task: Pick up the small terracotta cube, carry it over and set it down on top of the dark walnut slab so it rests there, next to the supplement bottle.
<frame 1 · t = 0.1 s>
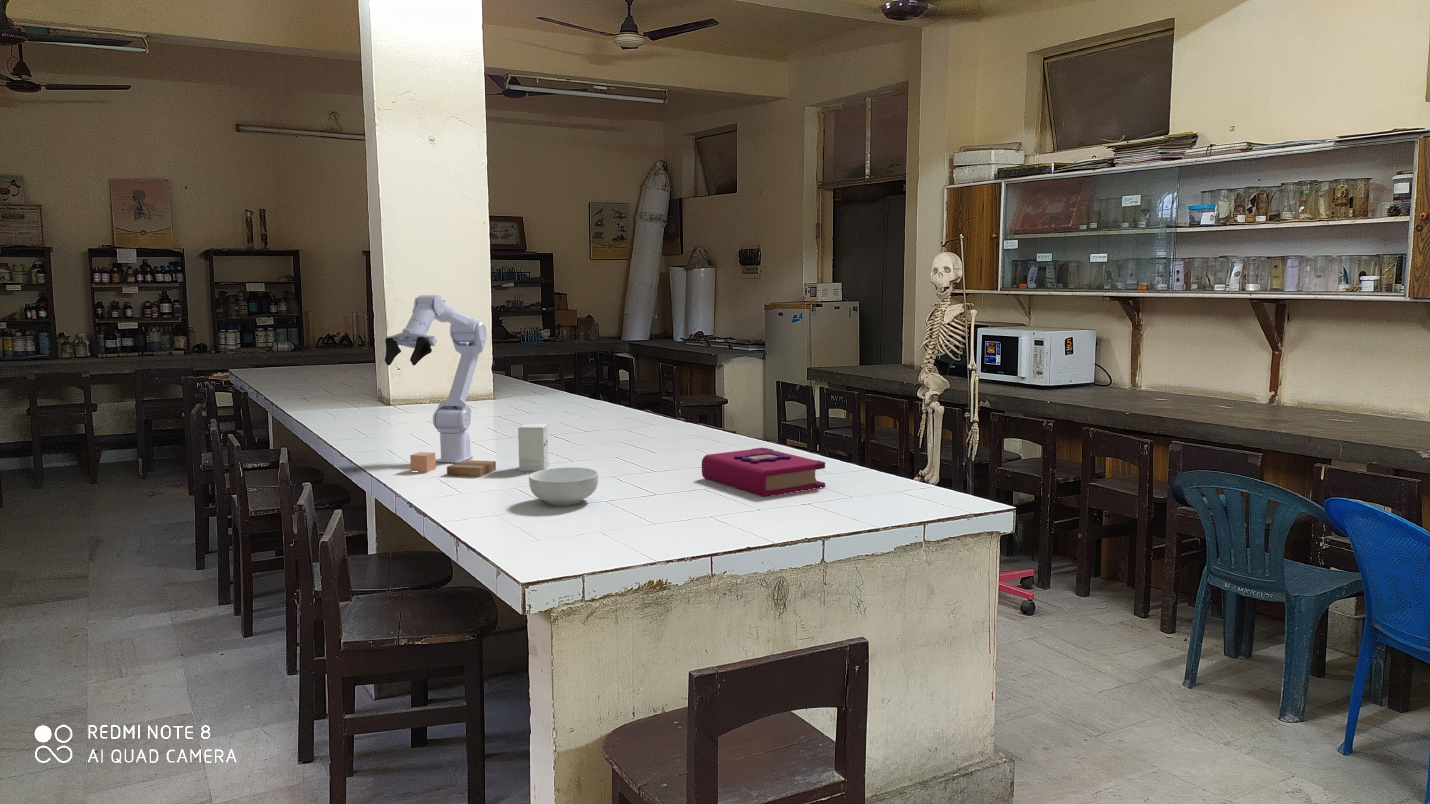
hand: (399, 362, 264), 32 cm above the table, tool tilted 50°, fingers open, 7 cm apart
terracotta cube: (423, 471, 279), on the table
cereal bowl: (564, 502, 240), on the table
supplement box: (534, 469, 282), on the table
book: (763, 485, 260), on the table
walnut slab: (471, 474, 276), on the table
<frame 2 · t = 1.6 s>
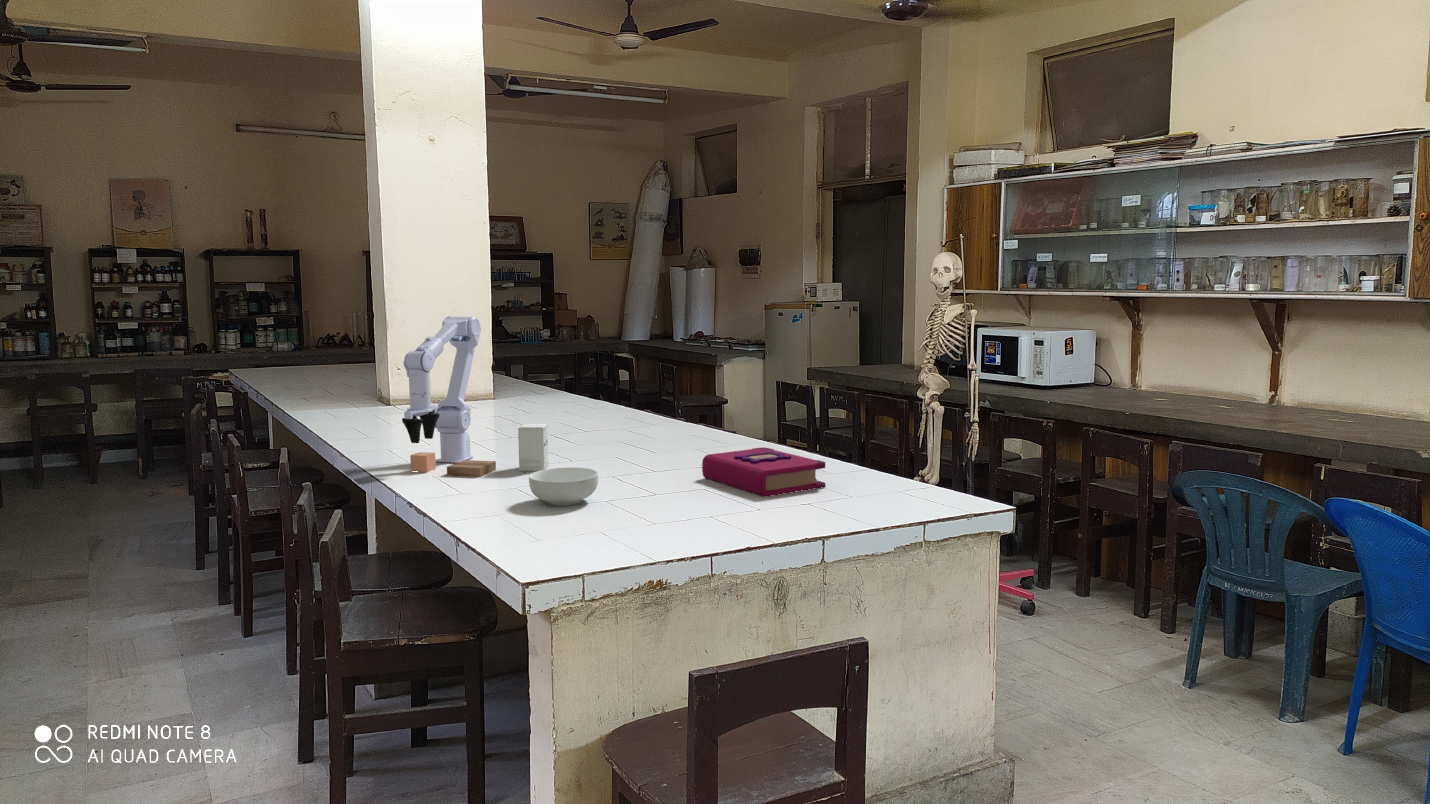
hand: (422, 440, 278), 9 cm above the table, tool pointing down, fingers open, 7 cm apart
nothing on the table moved.
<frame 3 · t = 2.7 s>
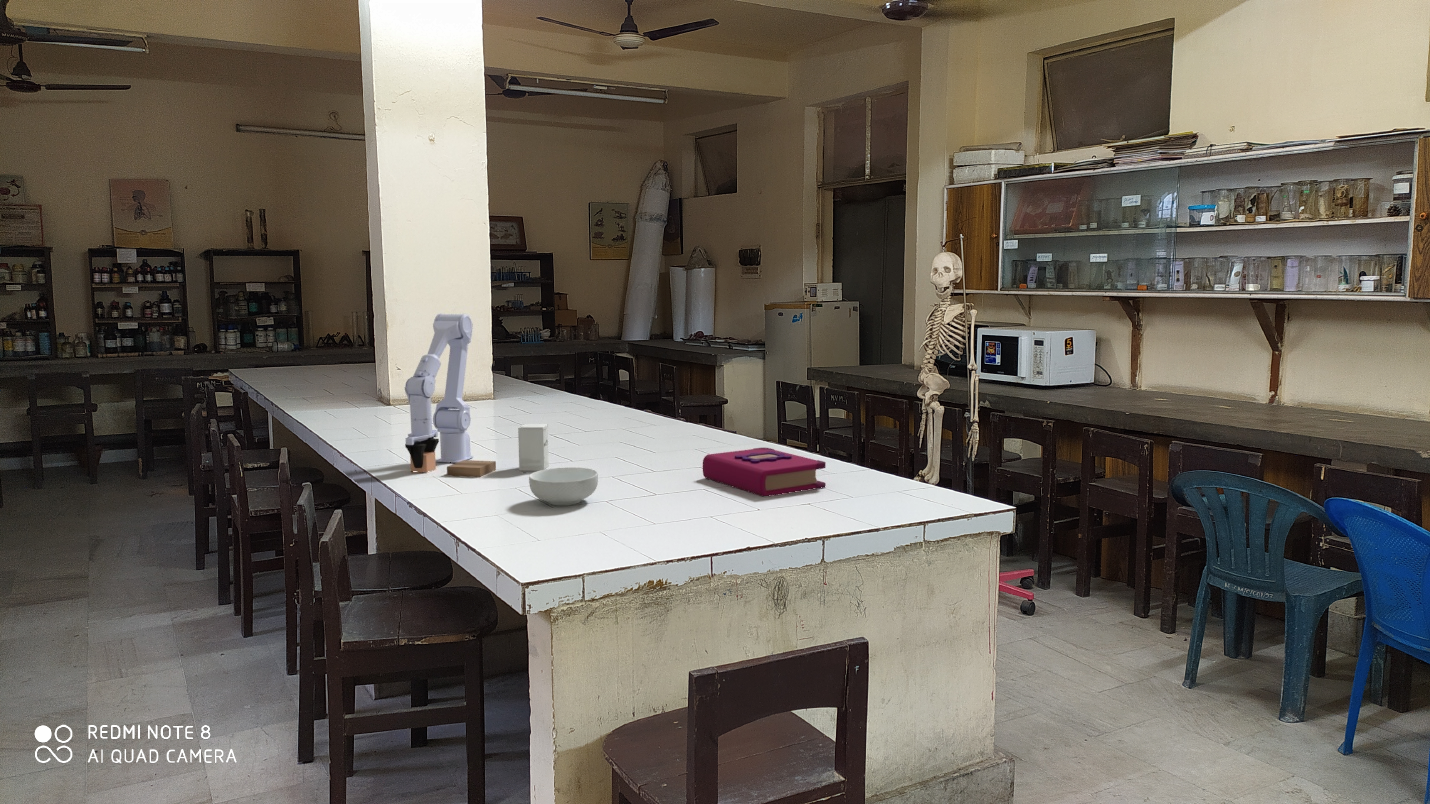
hand: (423, 465, 279), 1 cm above the table, tool pointing down, fingers closed on terracotta cube, 5 cm apart
terracotta cube: (423, 470, 279), on the table, touching gripper
everything else where it was.
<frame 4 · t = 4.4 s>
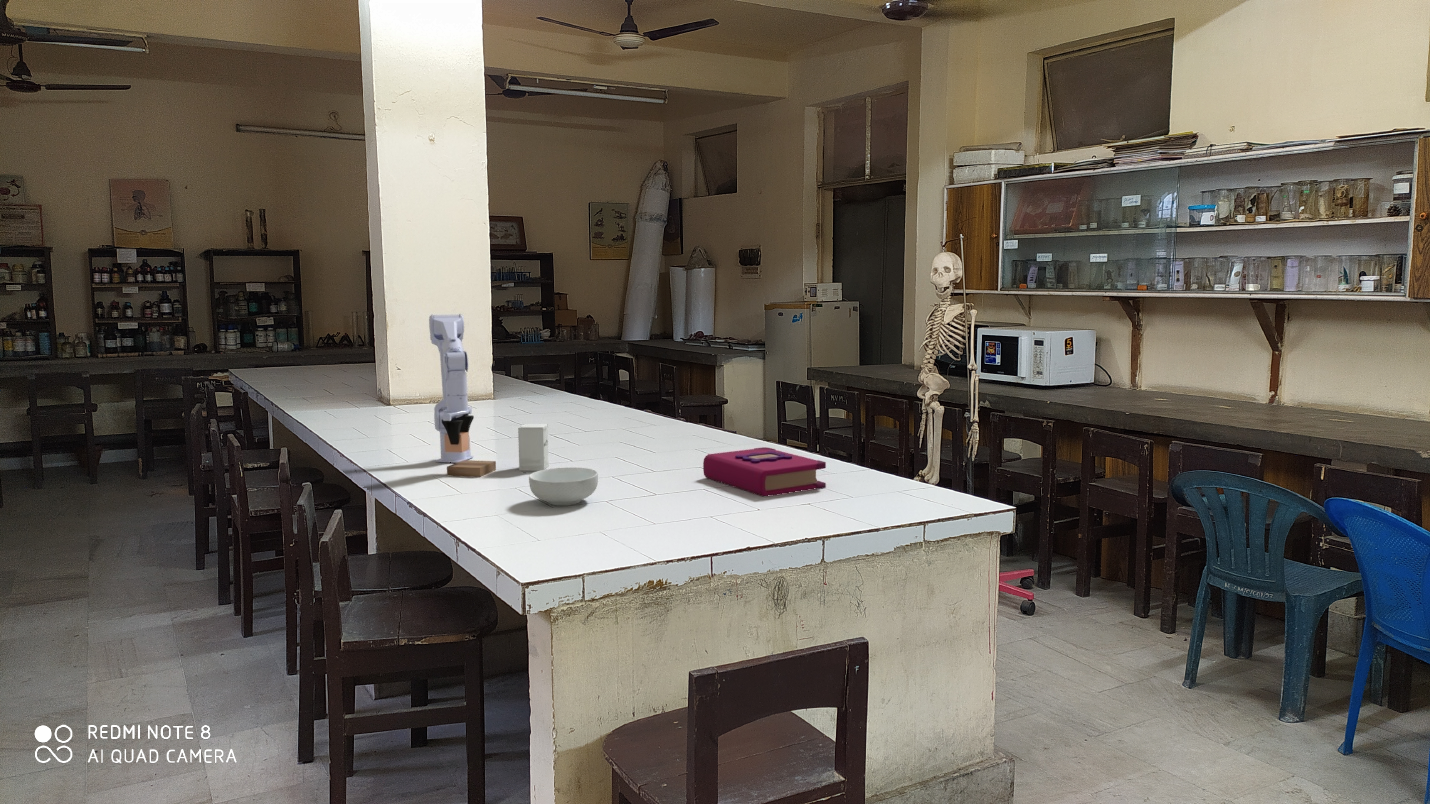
hand: (458, 442, 276), 8 cm above the table, tool pointing down, fingers closed on terracotta cube, 5 cm apart
terracotta cube: (457, 450, 276), point 6 cm above the table, touching gripper
everything else where it was.
when the fingers open (5 cm above the table, at t = 5.7 s): terracotta cube stays where it is, resting on walnut slab.
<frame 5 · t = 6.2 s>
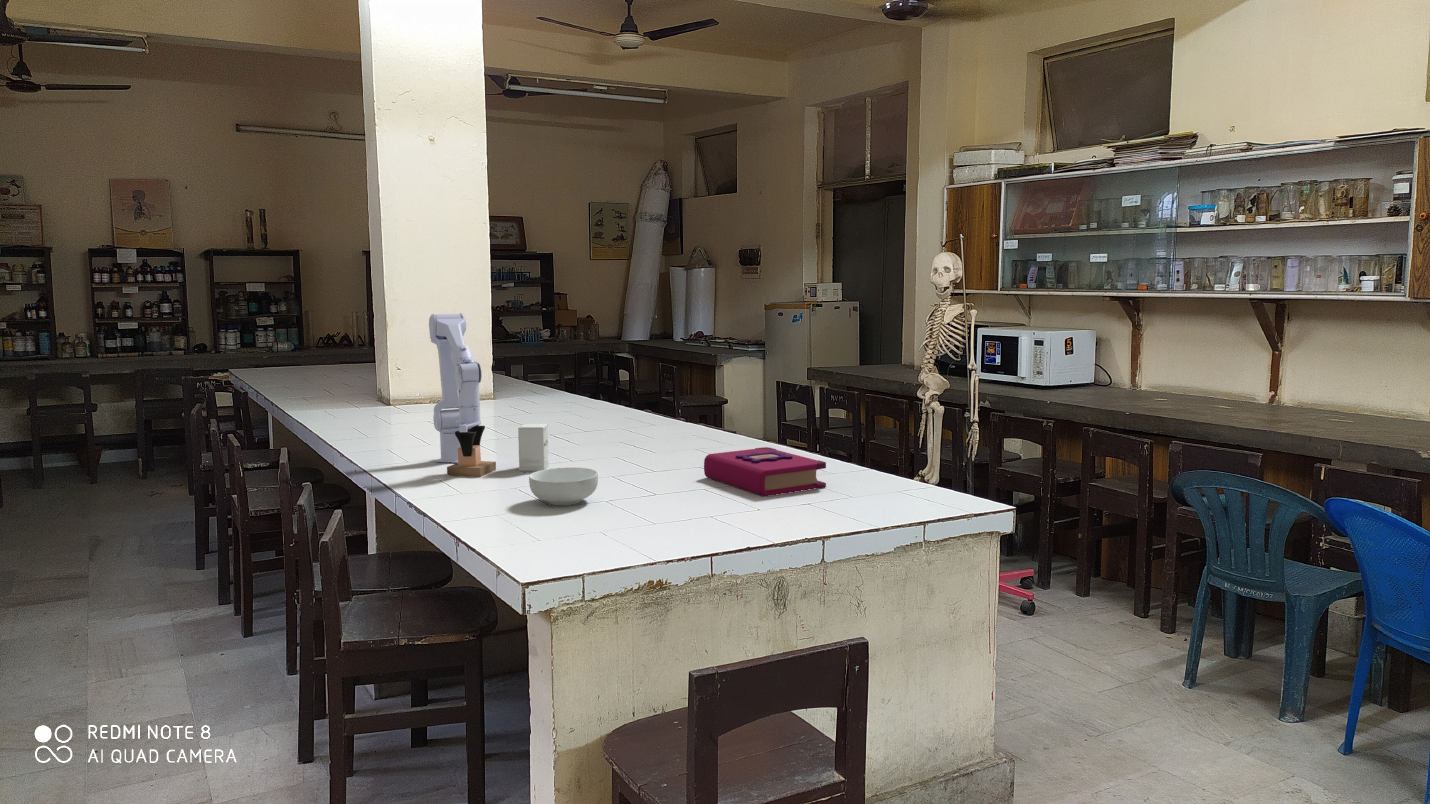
hand: (471, 453, 276), 5 cm above the table, tool pointing down, fingers open, 7 cm apart
terracotta cube: (469, 464, 276), point 2 cm above the table, touching walnut slab
walnut slab: (472, 474, 276), on the table, touching terracotta cube
everything else where it was.
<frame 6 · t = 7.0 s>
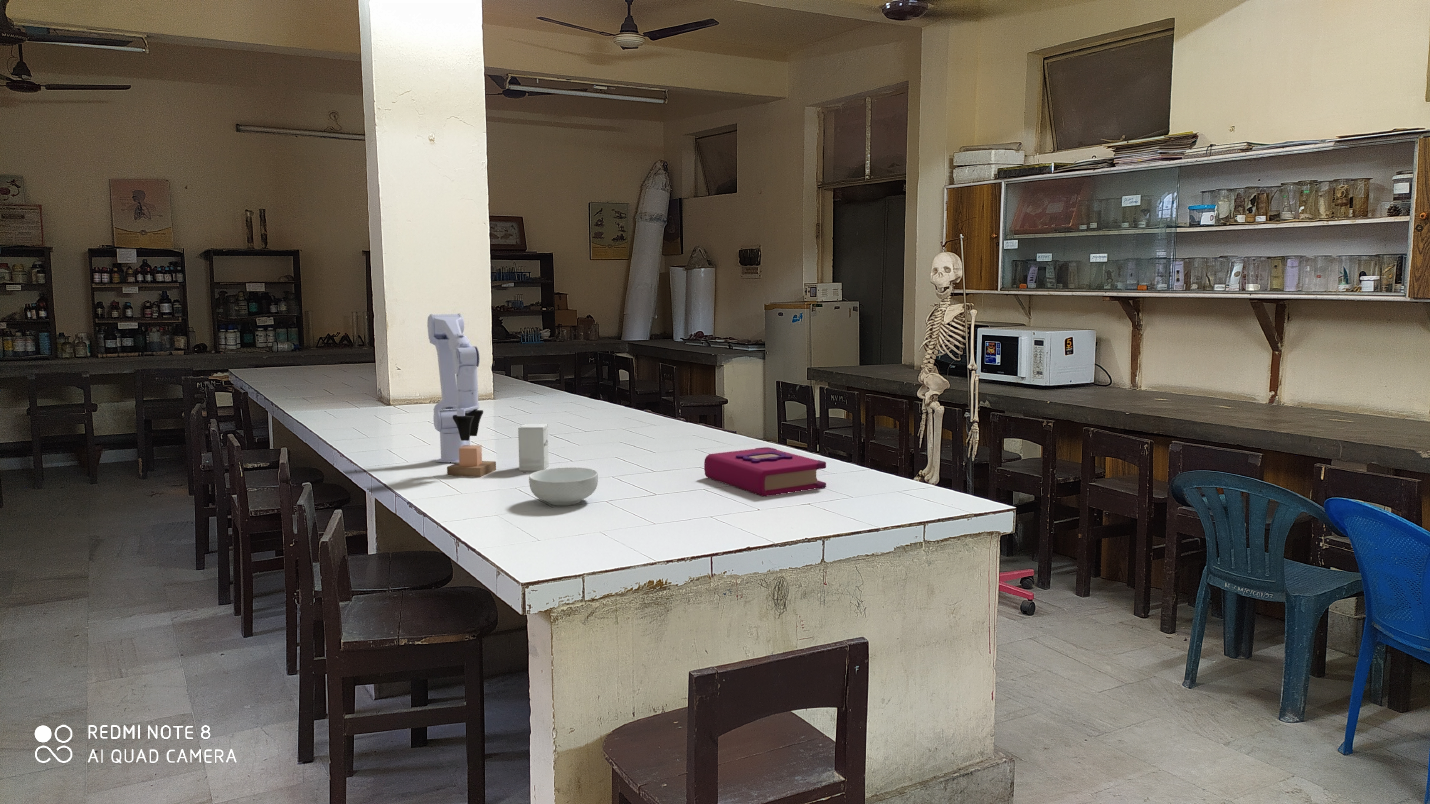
hand: (469, 438, 275), 10 cm above the table, tool pointing down, fingers open, 7 cm apart
nothing on the table moved.
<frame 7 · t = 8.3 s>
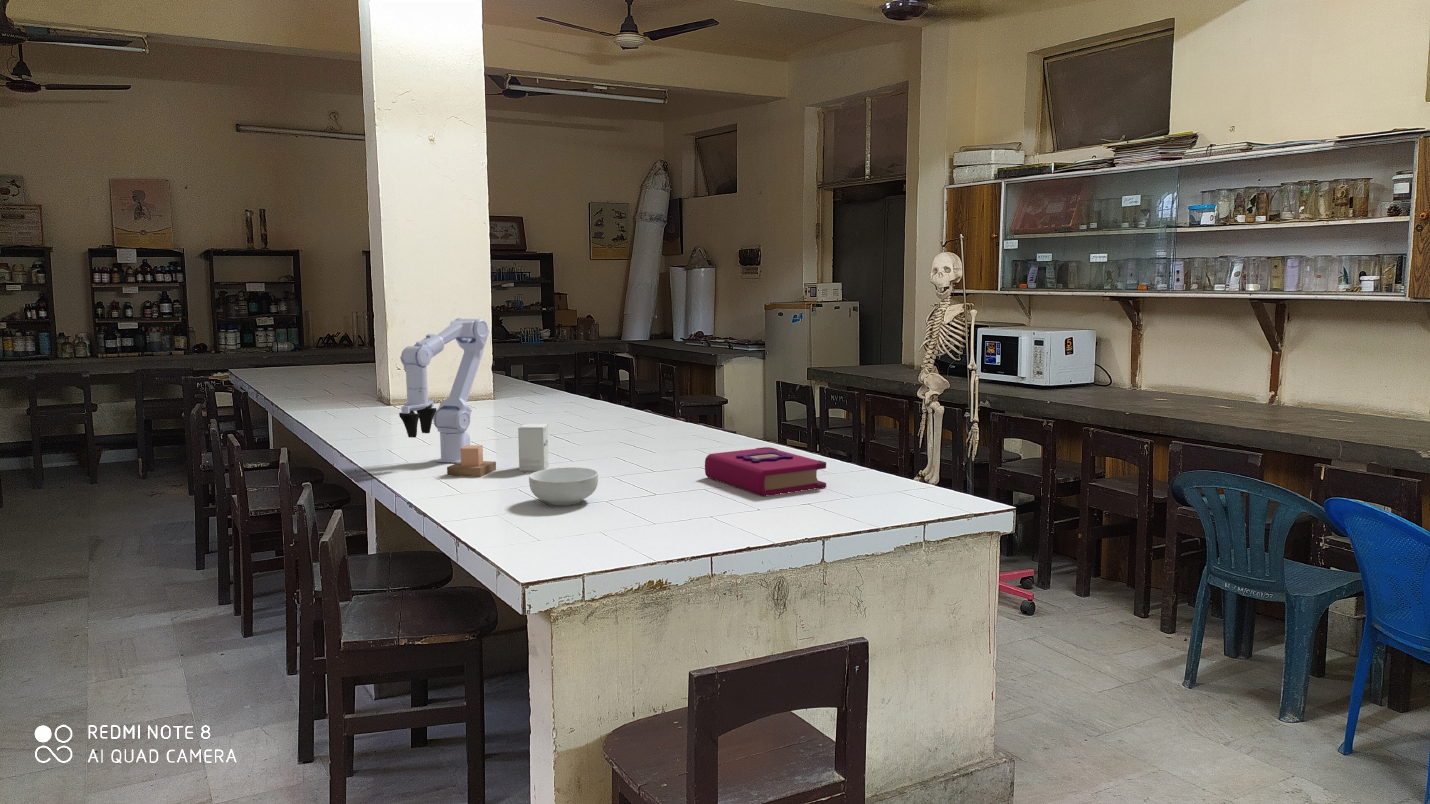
hand: (419, 435, 281), 10 cm above the table, tool pointing down, fingers open, 7 cm apart
nothing on the table moved.
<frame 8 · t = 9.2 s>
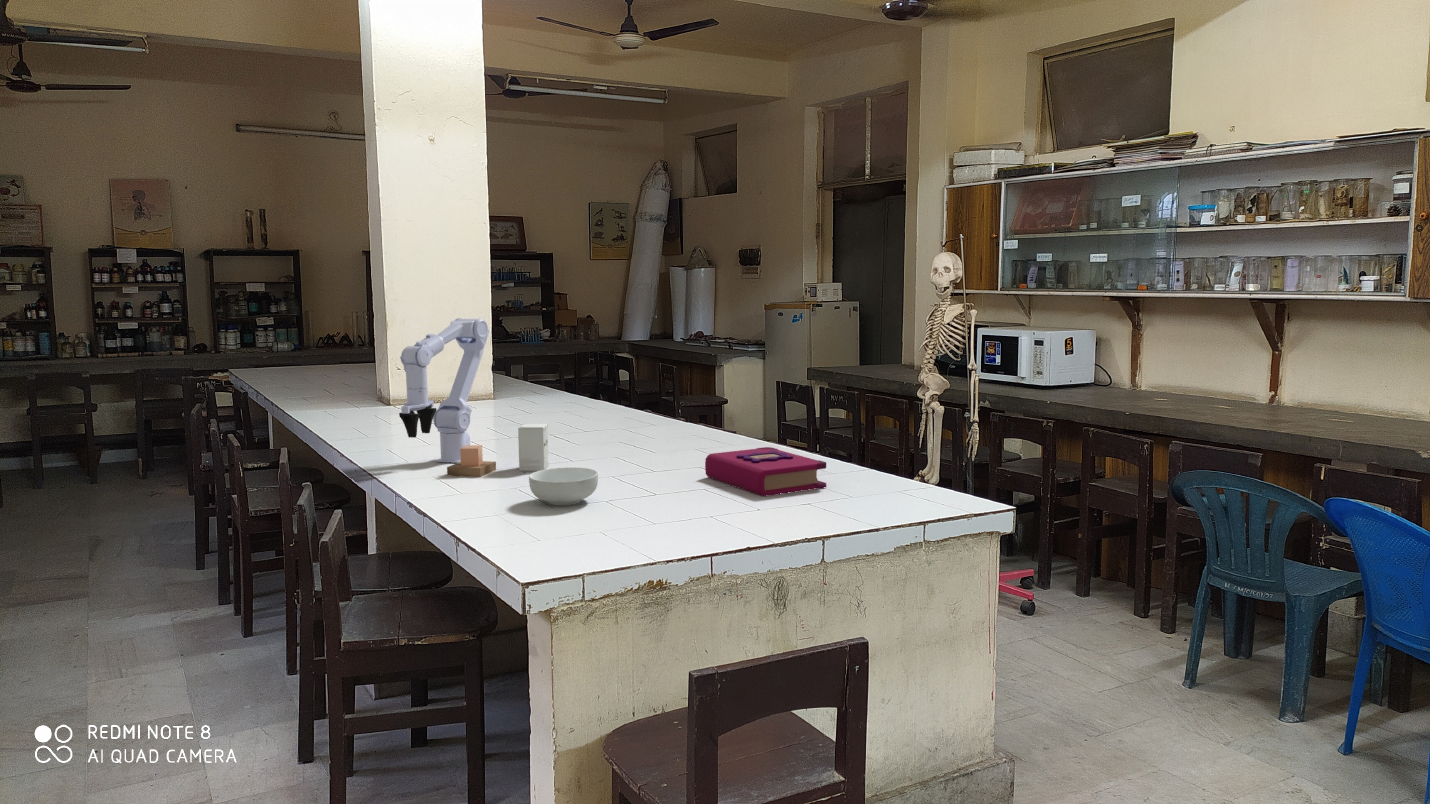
hand: (419, 435, 281), 10 cm above the table, tool pointing down, fingers open, 7 cm apart
nothing on the table moved.
at the end: terracotta cube inside the target area on the walnut slab (0.1 cm from its centre), point 3.0 cm above the walnut slab's base; terracotta cube tilted 0°; terracotta cube touching walnut slab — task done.
